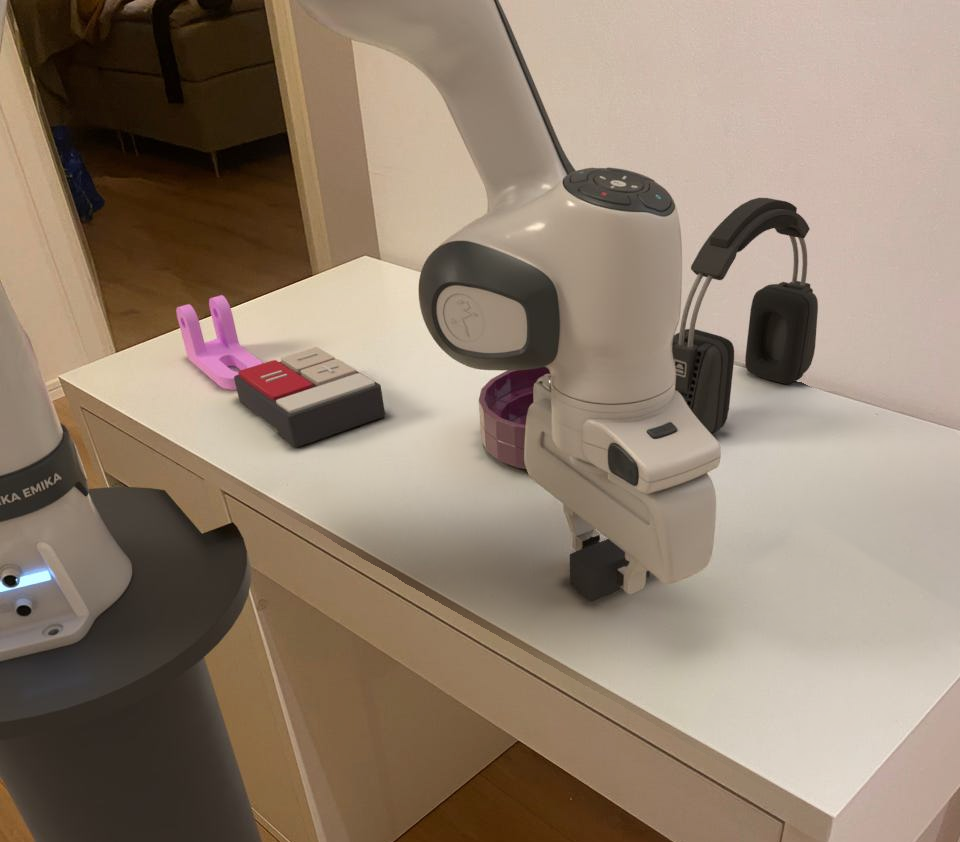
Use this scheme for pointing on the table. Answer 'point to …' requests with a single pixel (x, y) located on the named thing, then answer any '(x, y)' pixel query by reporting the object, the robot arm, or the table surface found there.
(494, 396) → the bowl
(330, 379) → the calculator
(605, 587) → the eraser
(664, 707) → the table surface
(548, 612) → the table surface
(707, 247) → the headphones
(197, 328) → the bracket
